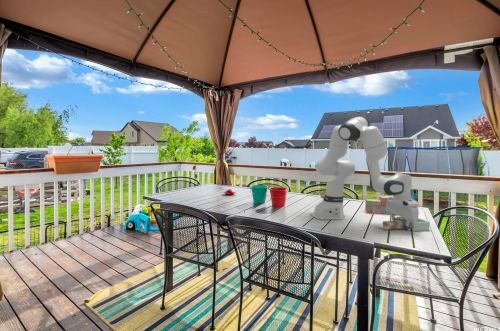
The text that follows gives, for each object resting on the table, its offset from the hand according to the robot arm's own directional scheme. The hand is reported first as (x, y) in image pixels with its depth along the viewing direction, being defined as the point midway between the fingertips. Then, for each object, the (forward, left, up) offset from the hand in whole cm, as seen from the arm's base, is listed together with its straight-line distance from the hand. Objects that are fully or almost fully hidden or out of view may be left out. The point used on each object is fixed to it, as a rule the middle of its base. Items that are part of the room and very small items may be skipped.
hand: (400, 222), depth 144 cm
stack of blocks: (+13, +29, -3) cm, 32 cm away
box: (+8, -1, -3) cm, 9 cm away
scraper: (-5, -1, -3) cm, 6 cm away
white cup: (+6, -1, -3) cm, 7 cm away
